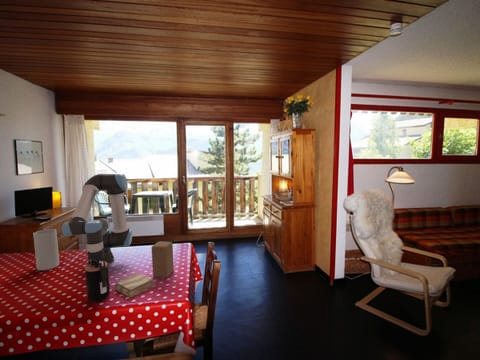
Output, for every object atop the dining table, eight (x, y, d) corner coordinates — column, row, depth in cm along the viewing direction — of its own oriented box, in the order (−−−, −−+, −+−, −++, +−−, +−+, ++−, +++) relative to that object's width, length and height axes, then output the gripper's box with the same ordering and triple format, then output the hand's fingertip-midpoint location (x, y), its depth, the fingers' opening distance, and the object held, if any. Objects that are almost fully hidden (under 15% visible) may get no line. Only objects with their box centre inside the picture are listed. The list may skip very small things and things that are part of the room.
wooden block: (167, 278, 156) (165, 247, 154) (152, 276, 158) (150, 246, 156) (174, 270, 166) (173, 241, 164) (160, 269, 168) (158, 240, 166)
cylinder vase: (32, 269, 172) (28, 233, 169) (52, 261, 183) (48, 228, 181) (44, 272, 167) (40, 235, 164) (63, 264, 179) (60, 230, 176)
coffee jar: (93, 292, 141) (91, 261, 139) (113, 291, 142) (111, 260, 140) (83, 303, 131) (80, 270, 129) (104, 302, 132) (102, 269, 130)
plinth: (115, 289, 144) (115, 282, 144) (139, 278, 156) (138, 272, 156) (130, 297, 136) (130, 290, 135) (154, 285, 148) (153, 279, 147)
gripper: (77, 247, 137) (81, 286, 140) (98, 257, 124) (102, 299, 126) (92, 243, 143) (95, 280, 146) (113, 252, 130) (116, 292, 132)
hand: (98, 289), depth 136 cm, fingers closed on coffee jar, 11 cm apart
